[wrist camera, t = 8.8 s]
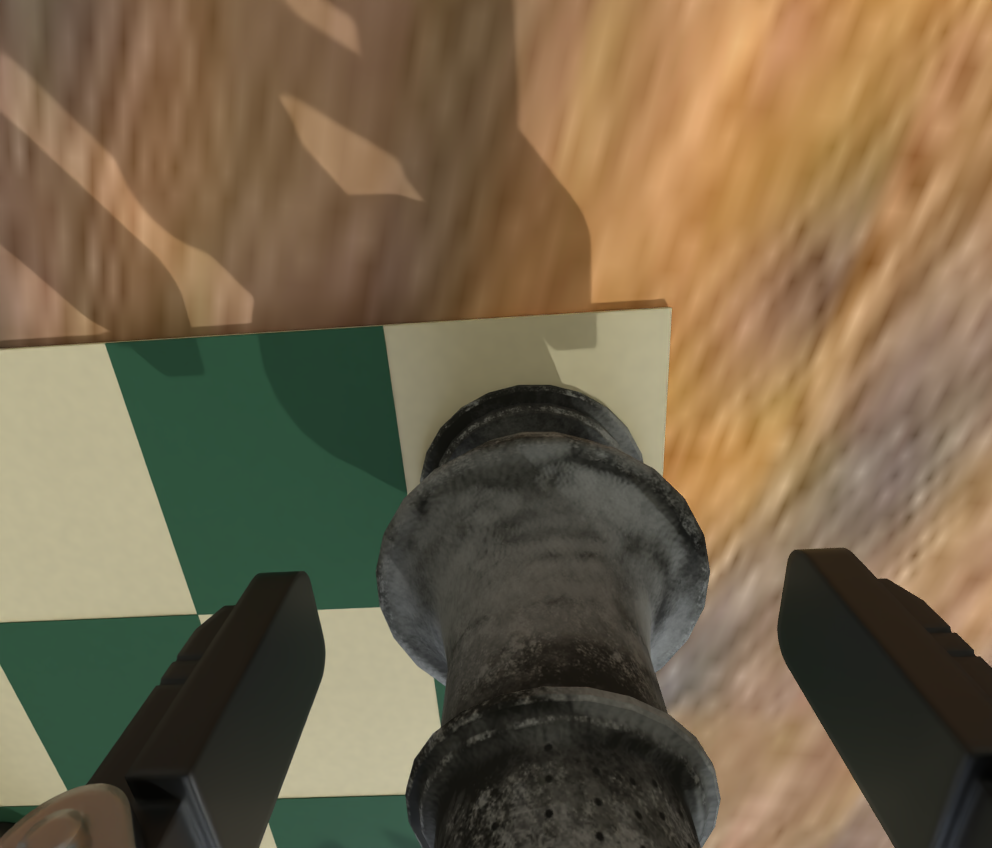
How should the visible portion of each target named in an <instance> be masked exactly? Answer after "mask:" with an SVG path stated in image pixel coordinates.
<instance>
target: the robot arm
mask: <svg viewBox="0 0 992 848" xmlns="http://www.w3.org/2000/svg"><path fill="white" fill-rule="evenodd" d="M777 631H778V640H779V645H780V649H781V652H782V655H783V658H784V660H785V663H786V664H787V666H788V668H789V670H790V671H791V673H792V675H793V676H794V678H795V680H796V682H797V683H798V685H799V687H800V688H801V690H802V692H803V693H804V695H805V697H806V698H807V700H808V702H809V703H810V705H811V707H812V709H813V710H814V712H815V714H816V715H817V717H818V719H819V720H820V722H821V724H822V725H823V727H824V729H825V731H826V732H827V734H828V736H829V737H830V739H831V741H832V742H833V744H834V746H835V747H836V749H837V751H838V752H839V754H840V756H841V758H842V759H843V761H844V763H845V764H846V766H847V768H848V769H849V771H850V773H851V774H852V776H853V778H854V780H855V781H856V783H857V785H858V786H859V788H860V790H861V791H862V793H863V795H864V796H865V798H866V800H867V801H868V803H869V805H870V807H871V808H872V810H873V812H874V813H875V815H876V817H877V818H878V820H879V822H880V823H881V825H882V827H883V828H884V830H885V832H886V834H887V835H888V837H889V839H890V840H891V842H892V844H893V845H894V847H895V848H992V668H991V667H990V666H989V665H988V664H987V663H986V662H985V661H984V660H983V659H982V658H981V657H980V656H979V657H976V656H975V654H974V650H973V649H972V648H971V647H970V646H969V645H968V644H967V643H966V642H965V641H964V640H963V639H962V638H961V637H960V636H959V635H958V634H957V633H952V632H951V629H950V626H949V625H948V624H947V623H946V622H945V621H944V620H943V619H942V618H941V617H940V616H939V615H938V614H936V613H935V612H934V611H933V610H932V609H931V608H930V607H929V606H928V605H927V604H926V603H925V602H924V601H923V600H922V599H920V598H918V597H917V596H915V595H913V594H912V593H910V592H908V591H907V590H905V589H903V588H902V587H900V586H898V585H897V584H895V583H893V582H892V581H890V580H888V579H887V578H886V579H877V578H876V577H875V576H874V575H873V574H872V573H871V572H870V571H869V570H868V568H867V567H866V566H865V565H864V564H863V563H862V562H861V561H860V560H859V559H858V558H857V557H856V556H855V555H854V554H853V553H852V552H851V551H850V550H848V549H846V548H824V549H802V550H794V551H793V552H792V553H791V554H790V556H789V558H788V562H787V568H786V575H785V581H784V587H783V593H782V599H781V606H780V612H779V618H778V627H777ZM325 656H326V650H325V640H324V636H323V632H322V627H321V623H320V619H319V615H318V610H317V606H316V602H315V598H314V594H313V589H312V585H311V581H310V578H309V576H308V574H307V573H306V572H305V571H290V572H268V573H258V574H257V575H255V576H254V578H253V579H252V580H251V582H250V583H249V585H248V586H247V588H246V589H245V591H244V593H243V594H242V596H241V597H240V599H239V600H238V602H237V603H236V605H228V606H223V607H222V608H221V609H219V610H218V611H217V612H216V613H215V614H213V615H212V616H211V617H210V618H209V619H207V620H206V621H205V622H204V623H202V624H201V625H200V626H199V627H198V628H196V629H195V631H194V632H193V634H192V635H191V636H190V638H189V639H188V641H187V642H186V644H185V645H184V646H183V648H182V649H181V651H180V652H179V654H178V655H177V660H176V662H172V663H171V665H170V666H169V668H168V669H167V671H166V672H165V673H164V675H163V676H162V678H161V679H160V680H161V682H160V685H156V686H155V688H154V689H153V690H152V692H151V693H150V695H149V696H148V698H147V699H146V700H145V702H144V703H143V705H142V706H141V708H140V709H139V710H138V712H137V713H136V715H135V716H134V718H133V719H132V720H131V722H130V723H129V725H128V726H127V727H126V729H125V730H124V732H123V733H122V735H121V736H120V737H119V739H118V740H117V742H116V743H115V745H114V746H113V747H112V749H111V750H110V752H109V753H108V754H107V756H106V757H105V759H104V760H103V762H102V763H101V764H100V766H99V767H98V769H97V770H96V772H95V773H94V774H93V776H92V777H91V779H90V780H89V781H88V783H87V784H86V785H84V786H80V787H77V788H74V789H71V790H68V791H66V792H63V793H61V794H59V795H57V796H55V797H53V798H51V799H49V800H48V801H46V802H44V803H42V804H41V805H39V806H38V807H36V808H35V809H34V810H32V811H31V812H29V813H28V814H27V815H25V816H24V817H23V818H22V819H20V820H19V821H18V822H17V823H16V824H15V825H14V826H12V827H11V828H10V829H9V830H8V831H7V832H6V833H5V834H4V835H3V836H2V837H1V838H0V848H259V847H260V844H261V841H262V839H263V836H264V833H265V831H266V828H267V825H268V823H269V820H270V817H271V814H272V812H273V809H274V806H275V804H276V801H277V798H278V796H279V793H280V790H281V788H282V785H283V782H284V780H285V777H286V774H287V772H288V769H289V766H290V764H291V761H292V758H293V756H294V753H295V750H296V748H297V745H298V742H299V740H300V737H301V734H302V731H303V729H304V726H305V723H306V721H307V718H308V715H309V713H310V710H311V707H312V705H313V702H314V699H315V697H316V694H317V691H318V689H319V686H320V683H321V680H322V677H323V673H324V667H325Z"/></svg>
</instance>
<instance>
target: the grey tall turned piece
mask: <svg viewBox="0 0 992 848" xmlns="http://www.w3.org/2000/svg"><path fill="white" fill-rule="evenodd" d="M709 575H710V568H709V562H708V556H707V549H706V543H705V537H704V534H703V532H702V530H701V528H700V527H699V525H698V523H697V521H696V519H695V517H694V515H693V513H692V511H691V510H690V508H689V506H688V504H687V502H686V500H685V499H684V497H683V496H682V495H681V494H680V493H679V492H678V491H676V490H675V489H674V488H673V487H672V486H671V485H670V484H669V483H668V482H667V481H666V480H665V479H664V478H663V477H662V476H661V475H660V474H659V473H658V472H657V471H656V470H655V469H654V468H652V467H650V466H648V465H646V464H644V462H643V457H642V453H641V451H640V450H639V448H638V446H637V444H636V442H635V440H634V438H633V437H632V435H631V433H630V431H629V429H628V427H627V426H626V425H625V424H624V423H623V422H622V421H621V420H620V419H619V418H618V417H617V416H616V415H615V414H614V413H613V412H612V411H611V410H610V409H608V408H607V407H606V406H604V405H602V404H601V403H599V402H597V401H595V400H593V399H592V398H590V397H588V396H586V395H584V394H583V393H581V392H577V391H573V390H569V389H565V388H561V387H557V386H553V385H516V386H512V387H508V388H504V389H501V390H497V391H493V392H489V393H487V394H485V395H483V396H481V397H479V398H478V399H476V400H474V401H472V402H470V403H469V404H467V405H465V406H463V407H461V408H460V409H459V410H458V411H457V412H456V413H455V414H454V415H453V416H452V417H451V418H450V419H449V420H448V421H447V422H446V423H445V424H444V425H443V426H442V427H441V428H440V429H439V431H438V433H437V435H436V436H435V438H434V440H433V442H432V443H431V445H430V447H429V449H428V450H427V452H426V456H425V460H424V464H423V469H422V473H421V477H420V484H419V485H418V486H416V487H415V488H414V489H413V490H412V491H411V492H410V493H409V494H408V495H407V496H406V497H405V498H404V499H403V501H402V502H401V504H400V506H399V508H398V509H397V511H396V513H395V515H394V516H393V518H392V520H391V522H390V523H389V525H388V527H387V529H386V530H385V532H384V535H383V539H382V544H381V548H380V553H379V558H378V562H377V567H376V579H377V588H378V597H379V606H380V608H381V611H382V613H383V615H384V617H385V620H386V622H387V624H388V626H389V629H390V631H391V633H392V635H393V638H394V639H395V640H396V641H397V643H398V644H399V645H400V646H401V647H402V648H403V650H404V651H405V652H406V653H407V654H408V656H409V657H410V658H411V659H412V660H413V662H414V663H415V664H416V665H417V666H418V667H419V668H421V669H422V670H424V671H425V672H426V673H428V674H429V675H430V676H432V677H433V678H435V679H436V680H437V681H439V682H440V683H442V684H443V685H444V686H446V687H445V696H444V704H443V712H442V721H441V728H439V729H438V730H437V731H435V732H434V733H433V734H432V735H431V737H430V738H429V739H428V741H427V742H426V744H425V745H424V746H423V748H422V749H421V751H420V752H419V753H418V755H417V756H416V758H415V759H414V762H413V765H412V769H411V773H410V776H409V780H408V784H407V787H406V793H405V797H406V805H407V814H408V822H409V824H410V826H411V828H412V830H413V832H414V834H415V835H416V837H417V839H418V841H419V843H420V845H421V847H422V848H702V847H703V845H704V843H705V842H706V840H707V839H708V837H709V835H710V834H711V832H712V830H713V829H714V827H715V824H716V819H717V814H718V809H719V804H720V794H719V788H718V783H717V778H716V773H715V769H714V766H713V764H712V762H711V760H710V759H709V757H708V756H707V754H706V752H705V751H704V749H703V748H702V746H701V744H700V743H699V741H698V740H697V738H696V737H695V736H694V735H693V734H692V733H691V732H689V731H688V730H687V729H686V728H684V727H683V726H682V725H681V724H680V723H678V722H677V721H676V720H675V719H674V718H672V717H671V716H670V715H669V714H668V713H667V710H666V707H665V703H664V700H663V697H662V694H661V690H660V687H659V684H658V681H657V678H656V674H655V672H657V671H658V670H660V669H661V668H662V667H663V666H664V665H665V664H666V663H667V662H668V661H669V660H670V659H671V657H672V656H673V655H674V654H675V653H676V652H677V651H678V650H679V649H680V648H681V646H682V645H683V644H684V643H685V642H686V641H687V640H688V638H689V636H690V634H691V632H692V630H693V628H694V626H695V624H696V622H697V620H698V618H699V616H700V614H701V612H702V610H703V609H704V605H705V599H706V593H707V587H708V581H709Z"/></svg>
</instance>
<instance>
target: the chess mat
mask: <svg viewBox="0 0 992 848" xmlns="http://www.w3.org/2000/svg"><path fill="white" fill-rule="evenodd" d="M671 316H672V308H671V307H660V308H644V309H628V310H612V311H596V312H580V313H564V314H548V315H532V316H516V317H500V318H484V319H468V320H452V321H436V322H420V323H404V324H388V325H372V326H356V327H340V328H324V329H308V330H292V331H276V332H260V333H244V334H228V335H212V336H196V337H180V338H164V339H148V340H132V341H116V342H100V343H84V344H68V345H52V346H36V347H20V348H4V349H0V822H9V823H17V822H18V821H19V820H20V819H22V818H23V817H24V816H25V815H27V814H28V813H29V812H31V811H32V810H34V809H35V808H36V807H38V806H39V805H41V804H42V803H44V802H46V801H48V800H49V799H51V798H53V797H55V796H57V795H59V794H61V793H63V792H66V791H68V790H71V789H74V788H77V787H80V786H84V785H86V784H87V783H88V781H89V780H90V779H91V777H92V776H93V774H94V773H95V772H96V770H97V769H98V767H99V766H100V764H101V763H102V762H103V760H104V759H105V757H106V756H107V754H108V753H109V752H110V750H111V749H112V747H113V746H114V745H115V743H116V742H117V740H118V739H119V737H120V736H121V735H122V733H123V732H124V730H125V729H126V727H127V726H128V725H129V723H130V722H131V720H132V719H133V718H134V716H135V715H136V713H137V712H138V710H139V709H140V708H141V706H142V705H143V703H144V702H145V700H146V699H147V698H148V696H149V695H150V693H151V692H152V690H153V689H154V688H155V686H156V685H160V682H161V680H160V679H161V678H162V676H163V675H164V673H165V672H166V671H167V669H168V668H169V666H170V665H171V663H172V662H176V660H177V655H178V654H179V652H180V651H181V649H182V648H183V646H184V645H185V644H186V642H187V641H188V639H189V638H190V636H191V635H192V634H193V632H194V631H195V629H196V628H198V627H199V626H200V625H201V624H202V623H204V622H205V621H206V620H207V619H209V618H210V617H211V616H212V615H213V614H215V613H216V612H217V611H218V610H219V609H221V608H222V607H223V606H228V605H236V603H237V602H238V600H239V599H240V597H241V596H242V594H243V593H244V591H245V589H246V588H247V586H248V585H249V583H250V582H251V580H252V579H253V578H254V576H255V575H257V574H258V573H268V572H290V571H305V572H306V573H307V574H308V576H309V578H310V581H311V585H312V589H313V594H314V598H315V602H316V606H317V610H318V615H319V619H320V623H321V627H322V632H323V636H324V640H325V650H326V656H325V667H324V673H323V677H322V680H321V683H320V686H319V689H318V691H317V694H316V697H315V699H314V702H313V705H312V707H311V710H310V713H309V715H308V718H307V721H306V723H305V726H304V729H303V731H302V734H301V737H300V740H299V742H298V745H297V748H296V750H295V753H294V756H293V758H292V761H291V764H290V766H289V769H288V772H287V774H286V777H285V780H284V782H283V785H282V788H281V790H280V793H279V796H278V798H277V801H276V804H275V806H274V809H273V812H272V814H271V817H270V820H269V823H268V825H267V828H266V831H265V833H264V836H263V839H262V841H261V844H260V847H259V848H422V847H421V845H420V843H419V841H418V839H417V837H416V835H415V834H414V832H413V830H412V828H411V826H410V824H409V822H408V814H407V805H406V797H405V793H406V787H407V784H408V780H409V776H410V773H411V769H412V765H413V762H414V759H415V758H416V756H417V755H418V753H419V752H420V751H421V749H422V748H423V746H424V745H425V744H426V742H427V741H428V739H429V738H430V737H431V735H432V734H433V733H434V732H435V731H437V730H438V729H439V728H441V721H442V712H443V704H444V696H445V687H446V686H444V685H443V684H442V683H440V682H439V681H437V680H436V679H435V678H433V677H432V676H430V675H429V674H428V673H426V672H425V671H424V670H422V669H421V668H419V667H418V666H417V665H416V664H415V663H414V662H413V660H412V659H411V658H410V657H409V656H408V654H407V653H406V652H405V651H404V650H403V648H402V647H401V646H400V645H399V644H398V643H397V641H396V640H395V639H394V638H393V635H392V633H391V631H390V629H389V626H388V624H387V622H386V620H385V617H384V615H383V613H382V611H381V608H380V606H379V597H378V588H377V579H376V567H377V562H378V558H379V553H380V548H381V544H382V539H383V535H384V532H385V530H386V529H387V527H388V525H389V523H390V522H391V520H392V518H393V516H394V515H395V513H396V511H397V509H398V508H399V506H400V504H401V502H402V501H403V499H404V498H405V497H406V496H407V495H408V494H409V493H410V492H411V491H412V490H413V489H414V488H415V487H416V486H418V485H419V484H420V477H421V473H422V469H423V464H424V460H425V456H426V452H427V450H428V449H429V447H430V445H431V443H432V442H433V440H434V438H435V436H436V435H437V433H438V431H439V429H440V428H441V427H442V426H443V425H444V424H445V423H446V422H447V421H448V420H449V419H450V418H451V417H452V416H453V415H454V414H455V413H456V412H457V411H458V410H459V409H460V408H461V407H463V406H465V405H467V404H469V403H470V402H472V401H474V400H476V399H478V398H479V397H481V396H483V395H485V394H487V393H489V392H493V391H497V390H501V389H504V388H508V387H512V386H516V385H553V386H557V387H561V388H565V389H569V390H573V391H577V392H581V393H583V394H584V395H586V396H588V397H590V398H592V399H593V400H595V401H597V402H599V403H601V404H602V405H604V406H606V407H607V408H608V409H610V410H611V411H612V412H613V413H614V414H615V415H616V416H617V417H618V418H619V419H620V420H621V421H622V422H623V423H624V424H625V425H626V426H627V427H628V429H629V431H630V433H631V435H632V437H633V438H634V440H635V442H636V444H637V446H638V448H639V450H640V451H641V453H642V457H643V462H644V464H646V465H648V466H650V467H652V468H654V469H655V470H656V471H657V472H658V473H659V474H660V475H661V476H662V477H663V463H664V444H665V426H666V408H667V389H668V371H669V352H670V334H671Z"/></svg>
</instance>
